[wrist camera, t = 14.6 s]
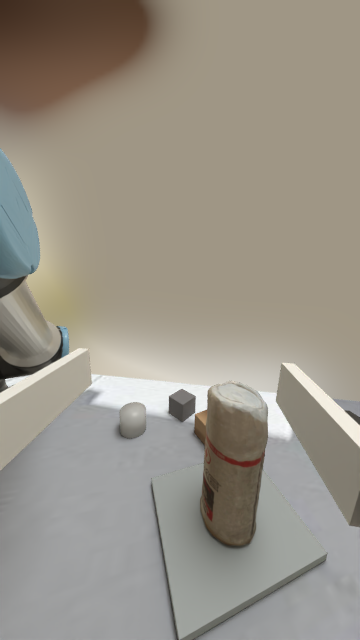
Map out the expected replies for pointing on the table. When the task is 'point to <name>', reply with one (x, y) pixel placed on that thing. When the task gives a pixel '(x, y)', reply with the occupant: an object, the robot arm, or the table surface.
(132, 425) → the white rounded cylinder
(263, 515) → the slate board
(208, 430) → the red-banded paper cylinder
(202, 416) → the walnut block
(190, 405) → the charcoal rubber cube
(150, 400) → the table surface
